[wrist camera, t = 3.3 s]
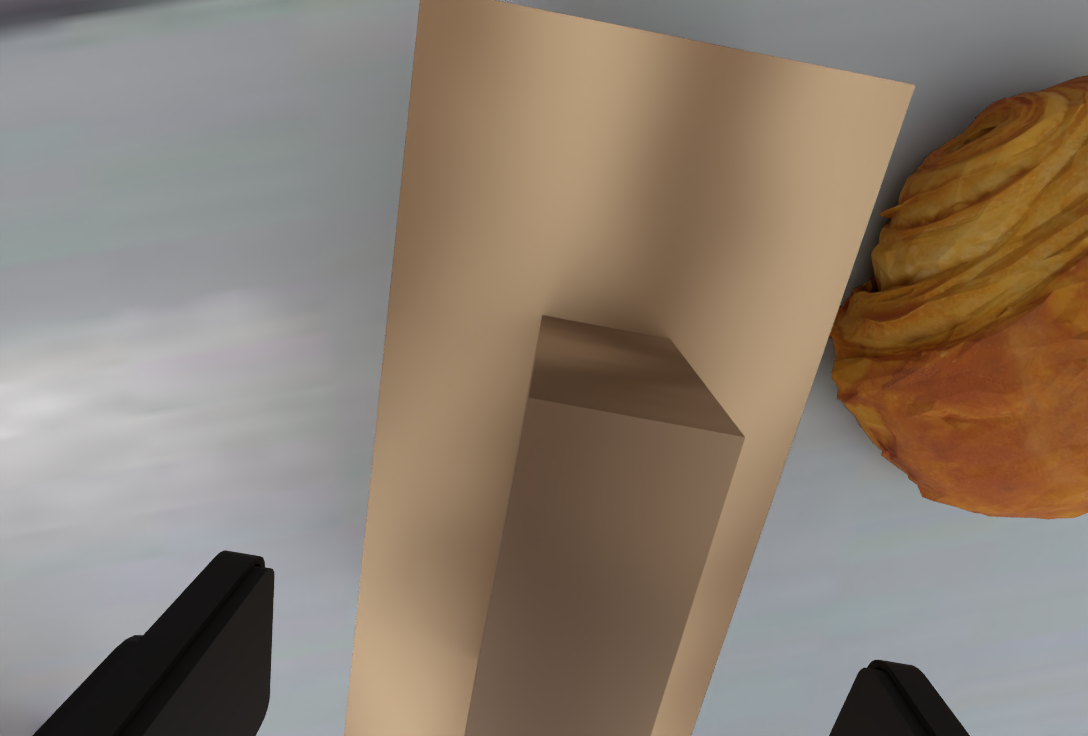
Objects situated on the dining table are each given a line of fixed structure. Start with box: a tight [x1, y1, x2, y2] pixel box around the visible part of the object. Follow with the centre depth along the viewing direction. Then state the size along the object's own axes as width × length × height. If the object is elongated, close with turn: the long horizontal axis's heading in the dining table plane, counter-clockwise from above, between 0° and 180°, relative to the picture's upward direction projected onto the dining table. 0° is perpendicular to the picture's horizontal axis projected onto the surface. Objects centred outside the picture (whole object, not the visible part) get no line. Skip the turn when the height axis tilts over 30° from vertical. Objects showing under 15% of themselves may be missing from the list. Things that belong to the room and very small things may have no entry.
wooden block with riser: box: [344, 0, 916, 736], centre depth 13 cm, size 10×22×8 cm, turn 170°
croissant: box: [829, 76, 1088, 519], centre depth 19 cm, size 14×16×8 cm
